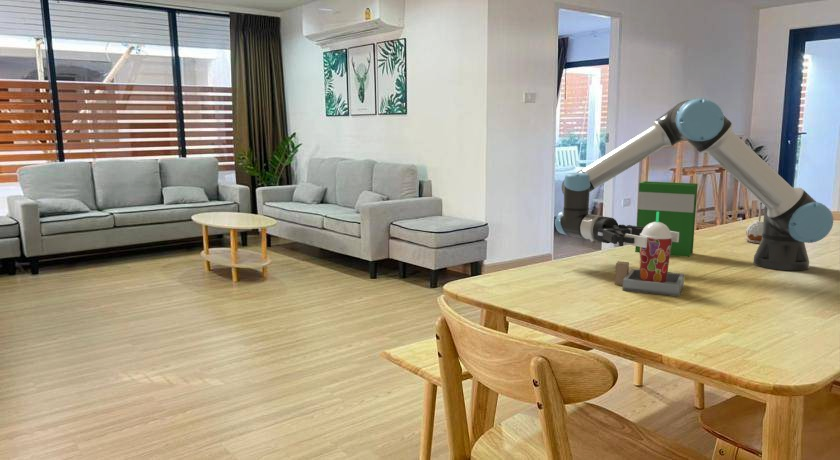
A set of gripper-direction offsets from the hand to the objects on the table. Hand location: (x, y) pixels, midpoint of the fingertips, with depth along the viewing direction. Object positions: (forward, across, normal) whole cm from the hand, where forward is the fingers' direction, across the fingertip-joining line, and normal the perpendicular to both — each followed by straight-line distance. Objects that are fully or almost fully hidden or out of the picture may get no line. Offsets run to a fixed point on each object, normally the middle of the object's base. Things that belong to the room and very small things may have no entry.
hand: (662, 239), depth 171 cm
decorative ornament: (-22, -89, -14) cm, 92 cm away
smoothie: (-2, 0, -13) cm, 13 cm away
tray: (-3, +1, -14) cm, 14 cm away
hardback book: (-30, -43, -14) cm, 54 cm away
